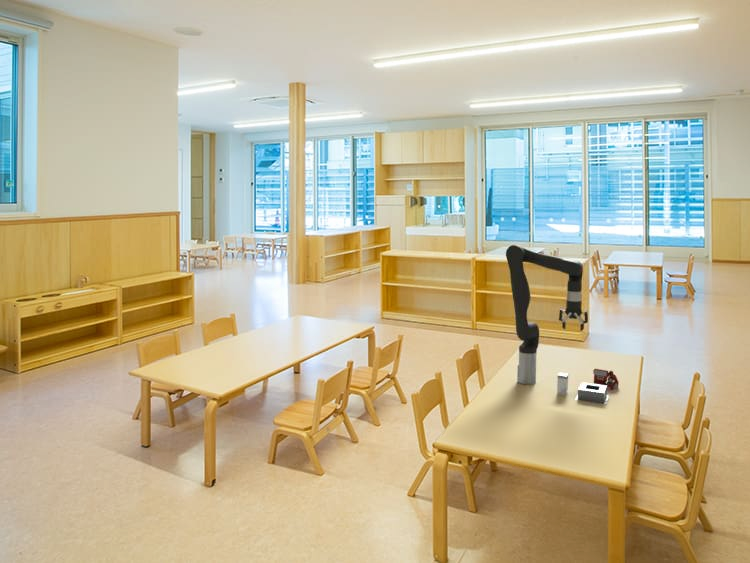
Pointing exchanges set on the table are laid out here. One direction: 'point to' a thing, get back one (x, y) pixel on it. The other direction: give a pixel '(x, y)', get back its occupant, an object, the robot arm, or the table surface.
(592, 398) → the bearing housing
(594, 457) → the table surface
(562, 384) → the brushed square peg
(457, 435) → the table surface
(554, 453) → the table surface
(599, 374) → the toy fire truck
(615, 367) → the table surface
